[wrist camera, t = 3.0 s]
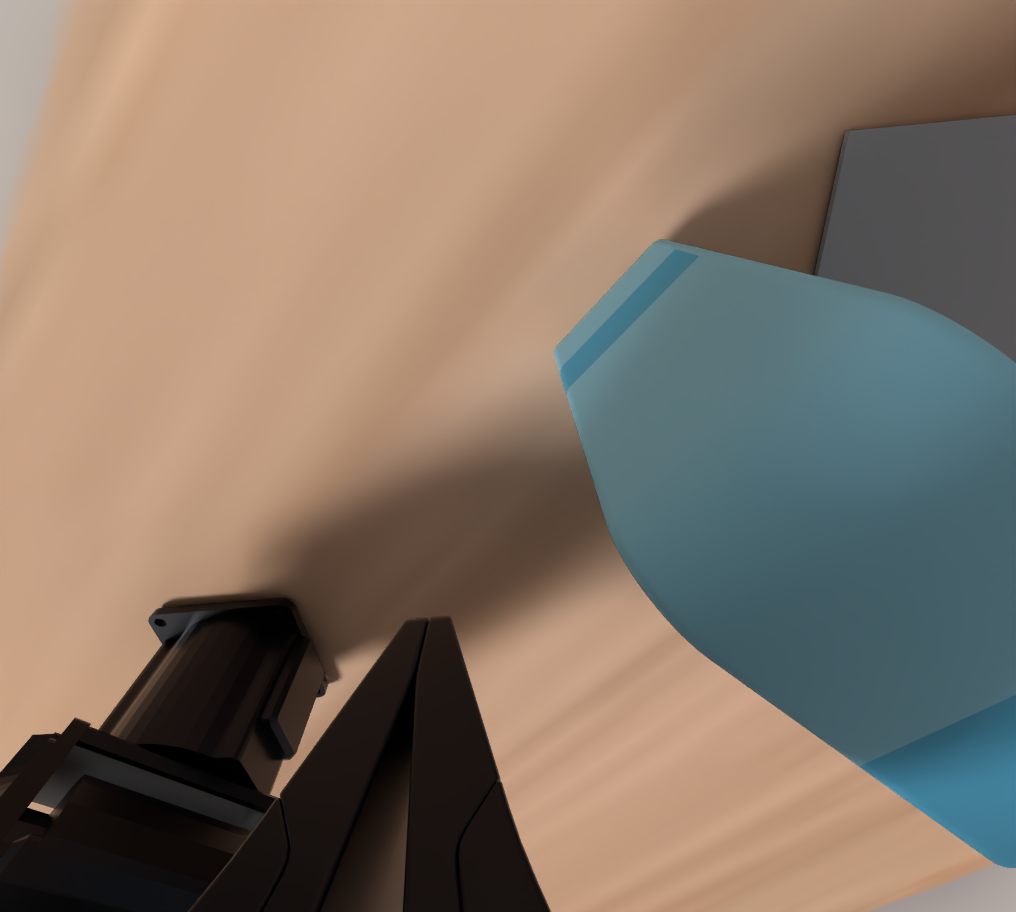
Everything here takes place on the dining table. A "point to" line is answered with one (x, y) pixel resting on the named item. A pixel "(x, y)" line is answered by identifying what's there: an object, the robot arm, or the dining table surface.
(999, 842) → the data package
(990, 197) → the felt mat
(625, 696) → the dining table surface
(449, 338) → the dining table surface
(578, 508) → the dining table surface
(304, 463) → the dining table surface
